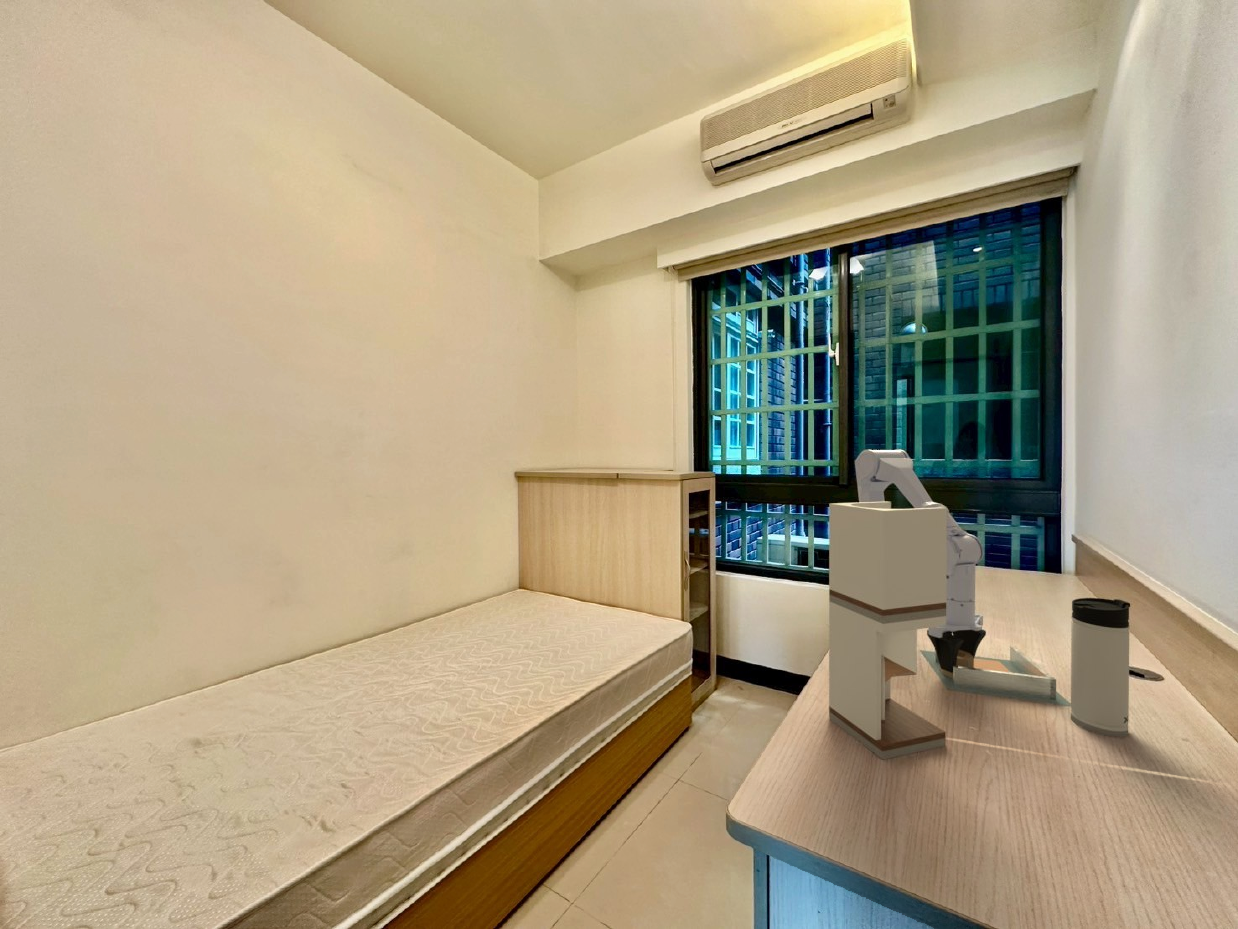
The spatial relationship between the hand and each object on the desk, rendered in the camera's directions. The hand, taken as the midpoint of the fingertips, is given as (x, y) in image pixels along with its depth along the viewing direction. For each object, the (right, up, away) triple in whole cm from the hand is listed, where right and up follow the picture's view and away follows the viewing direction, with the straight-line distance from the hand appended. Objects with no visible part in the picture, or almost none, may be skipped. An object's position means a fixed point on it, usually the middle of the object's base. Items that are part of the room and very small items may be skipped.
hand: (956, 667), depth 89 cm
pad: (+8, -1, +3) cm, 9 cm away
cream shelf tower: (-24, -2, -18) cm, 30 cm away
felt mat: (+6, -2, 0) cm, 6 cm away
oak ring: (0, -1, 0) cm, 1 cm away
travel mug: (+10, -2, -17) cm, 20 cm away
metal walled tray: (+6, -1, 0) cm, 6 cm away
